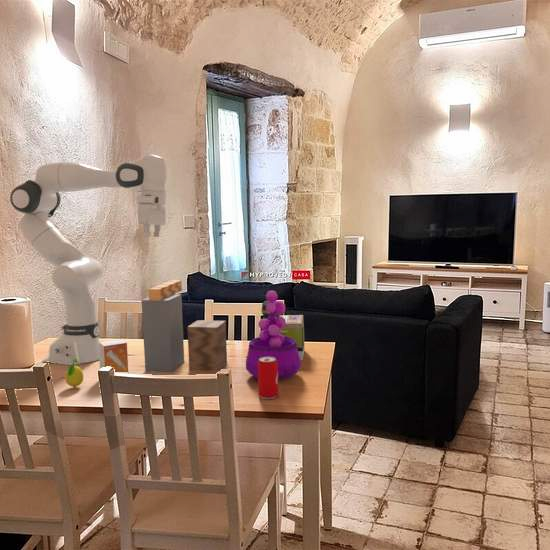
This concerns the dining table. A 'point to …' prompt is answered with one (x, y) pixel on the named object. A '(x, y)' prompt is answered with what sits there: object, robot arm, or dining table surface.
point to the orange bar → (165, 290)
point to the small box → (114, 355)
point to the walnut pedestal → (207, 345)
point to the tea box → (294, 331)
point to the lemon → (74, 375)
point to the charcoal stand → (163, 333)
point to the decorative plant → (273, 342)
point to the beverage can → (267, 377)
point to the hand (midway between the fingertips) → (152, 237)
